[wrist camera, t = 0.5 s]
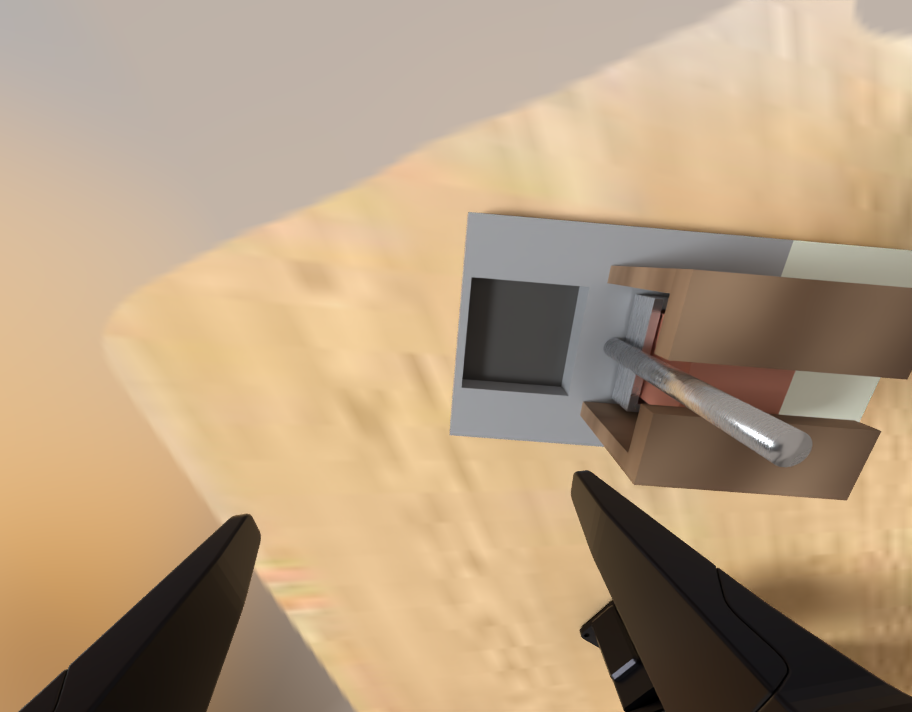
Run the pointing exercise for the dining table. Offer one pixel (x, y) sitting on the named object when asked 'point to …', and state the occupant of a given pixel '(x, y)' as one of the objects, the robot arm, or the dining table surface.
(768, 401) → the block
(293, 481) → the dining table surface
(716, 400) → the grey piece
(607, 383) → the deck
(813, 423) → the tunnel
